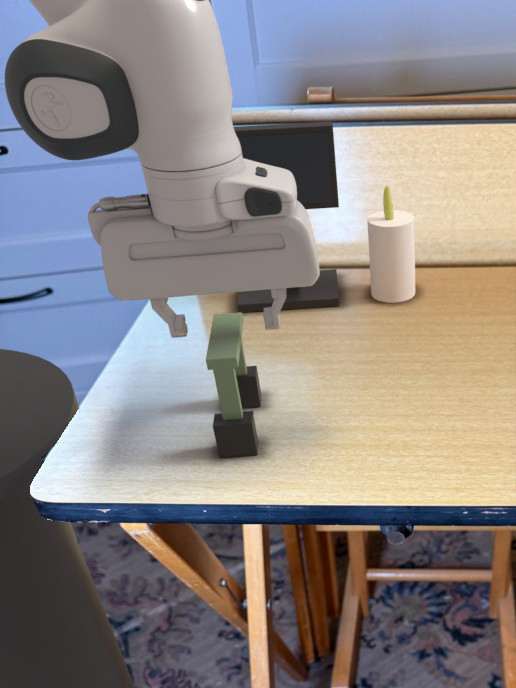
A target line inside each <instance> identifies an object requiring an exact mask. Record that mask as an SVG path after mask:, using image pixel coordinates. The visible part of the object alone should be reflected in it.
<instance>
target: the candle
mask: <svg viewBox="0 0 516 688" xmlns="http://www.w3.org/2000/svg"><path fill="white" fill-rule="evenodd" d="M391 193H392V192H391V189H390V186H389V185H385V187H384V190H383V196H382V197H383V198H382V199H383V200H382V201H383V202H382V203H383V210H380V211H376V212H374V213H371V214H370V215H368V216H367V220H366V221H367V223H366V224H367V239H368V240H367V241H368V257H369V277H370V295H371V297H372V298H373V299H374V300H376V301H377V302H382V303H387V304H388V303H389V304H390V303H391V304H395V303H401V302H405V301H409V300H411V299H413V297H415V295H416V247H415V245H416V244H415V242H416V241H415V239H416V238H415V216H414V214H413V213H410V212H409V211H405V210H399V209H394V204H393V199H392V194H391Z"/></svg>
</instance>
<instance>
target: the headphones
mask: <svg viewBox="0 0 516 688" xmlns="http://www.w3.org/2000/svg"><path fill="white" fill-rule="evenodd" d="M243 331H244V316H243V312H239V313H238V312H228V313H227V312H225V313H214V314H213V317H212V322H211V329H210V334H209V340H208V345H207V349H206V356H205V363H206V368H207V370H208V371H212V372H213V377H214V381H215V387H216V392H217V396H218V401H219V406H220V411H221V412H219V413H214V415H213V420H212V421H213V422H212V429H213V435H214V439H215V444H216V448H217V452H218V453H217V454H218V458H219V459H224V458H238V457H249V456H251V457H252V456H258V454H259V438H258V431H257V427H256V420H255V414H254V411H253V410H248V411H246V410H245V411H243V409H247V408H260V407H262V390H261V385H260V378H259V372H258V371H259V370H258V366H257V365H247V361H246V355H245V349H244V343H243V338H242V337H243Z"/></svg>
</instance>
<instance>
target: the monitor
mask: <svg viewBox="0 0 516 688" xmlns="http://www.w3.org/2000/svg"><path fill="white" fill-rule="evenodd" d="M233 127H234V130H235V133H236V135H237V137H238V140H239V142H240V145H241V150H242V156H243V158H244V159H248V160H251V161H255V162H259V163H263V164H267V165H271V166H275V167H279V168H283V169H286V170H289V171H290V172H291V173H292V174H293V176H294V178H295V182H296V186H297V200H298V201H299V202H300V203H301V204H302V205H303V207H304V208H305V210H318V209H334V208H335V209H336V208H337V209H338V208H340V202H339V201H340V200H339V189H338V177H337V174H338V173H337V161H336V149H335V136H334V124H333V121H330V120H329V121H314V122H313V121H312V122H295V123H293V122H292V123H278V124H261V125H243V126H241V125H240V126H233ZM237 295H238V296H237V301H236V307H237V313H239V312H242V313H255V312H264V308H266V307H272V304H273V302H274V300H275V299H273V298H272V294H271V289H268V290H255V291H243V292H238V294H237ZM330 307H340V294H339V283H338V272H337V268H333V269H320V275H319V277H318V279H317V281H316V282H315V283H314V285H312V286H306V287H293V288H286V300H285V302H284V304H283V306H282V308H281V310H280V311H286V310H299V309H300V310H301V309H313V308H330Z"/></svg>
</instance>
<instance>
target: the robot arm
mask: <svg viewBox="0 0 516 688" xmlns="http://www.w3.org/2000/svg"><path fill="white" fill-rule="evenodd" d="M28 1H29V3H30V4H31V5H32V6H33V7H34V8H35V10H36V11H37V12H38V13H39V15H40V16H41V17H42V19H44V21H45V22H46V24H47V27H45V28H43V29H41V30H39V31H37V32H35V33H34V34H31V35H29V36H28V37H26V38H25V39H24V40H23V41H22V42H21V43H20V44H18V45H17V46H16V47H15V48H14V49H13V50H12V51H11V52H10V55H9V57H8V58H7V61H6V64H5V69H4V88H5V95H6V98H7V101H8V105H9V107H10V110H11V112H12V115H13V116H14V119H15V120H16V121H17V124H19V126H20V127H21V129H22V130H23V132H24V133H25V134H26V135H27V136H28V137H29V138H30V139H31V140H32V141H33V142H34V143H35V144H36V145H37V146H38V147H39V148H41V149H42V150H43V151H45V152H47V153H49V154H50V155H52V156H55V157H57V158H60V159H63V160H67V161H85V160H90V159H96V158H99V157H104V156H108V155H112V154H115V153H118V152H122V151H124V150H131V151H133V152H134V153H136V154H137V156H138V159H139V162H140V166H141V169H142V170H141V171H142V175H143V178H144V182H145V187H146V191H147V193H141V194H140V193H139V194H129V195H125V196H117V197H115V196H104V197H101V198H99V200H98V202H96V203H94V204H93V205H91V207H90V209H89V210H88V213H87V222H88V225H89V228H90V232H91V235H92V237H93V240H94V241H95V242H96V243H97V244H98V245H99V246H100V252H101V261H102V267H103V268H102V269H103V272H104V280H105V284H106V286H107V290H108V292H109V293H110V295H112V297H114V298H115V299H116V300H118V301H120V302H129V301H130V302H131V301H144V300H149V302H150V306H151V309H152V310H153V311H154V312H155V313H156V315H157V316H158V317H159V318H161V319H162V320H163V322H164V323H165V324H167V325H168V330H169V334H170V337H171V339H176V338H185V337H187V336H188V332H189V329H188V324H187V323H186V321H187V319H186V316H185V313H182V314H181V313H180V314H176V312H175V311H174V310H173V308H171V306H170V305H169V304H168V300H169V298H180V297H190V296H191V297H193V296H203V295H205V296H206V295H216V294H229V293H239V292H243V291H255V290H268V289H271V294H272V298H273V299H275V300H274V302H273V304H272V307H266V308H264V311H263V314H262V315H263V322H264V330H265V331H271V330H281V315H280V313H281V311H282V310H281V308H282V306H283V304H284V302H285V300H286V288H293V287H306V286H312V285H314V283H315V282H316V281H317V279H318V277H319V275H320V270H321V269H320V262H319V254H318V249H317V247H318V246H317V243H316V239H315V233H314V230H313V227H312V223H311V220H310V216H309V214H308V212H307V209H305V208H304V207H303V205H302V204H301V203H300V202H299V201H298V200H297V186H296V182H295V178H294V176H293V174H292V173H291V172H290V171H289V170H286V169H283V168H279V167H275V166H271V165H267V164H263V163H259V162H255V161H251V160H248V159H244V158H243V156H242V150H241V145H240V142H239V140H238V137H237V135H236V133H235V130H234V127H235V126H234V123H233V114H232V113H233V101H234V100H233V99H234V97H233V95H234V94H233V88H232V82H231V78H230V72H229V66H228V62H227V57H226V53H225V47H224V43H223V39H222V36H221V32H220V28H219V25H218V21H217V17H216V14H215V12H214V9H213V6H212V4H211V1H210V0H28Z"/></svg>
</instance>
